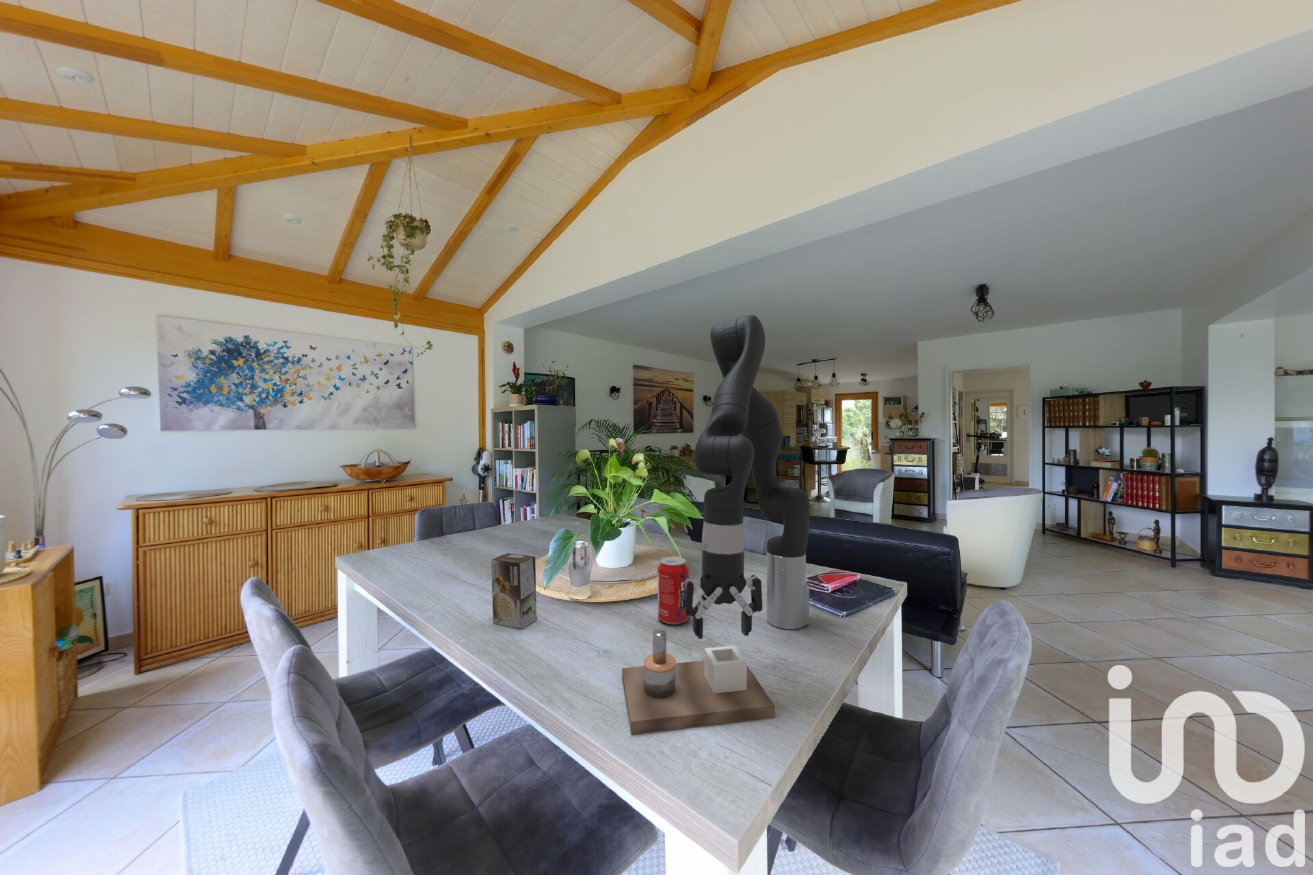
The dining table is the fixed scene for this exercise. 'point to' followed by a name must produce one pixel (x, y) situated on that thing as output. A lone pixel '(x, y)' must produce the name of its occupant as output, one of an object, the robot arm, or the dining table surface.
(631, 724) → the pipe stand
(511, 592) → the coffee box
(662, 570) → the soda can
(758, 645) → the dining table surface
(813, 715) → the dining table surface
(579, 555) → the beer glass
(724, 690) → the collar
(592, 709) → the dining table surface
